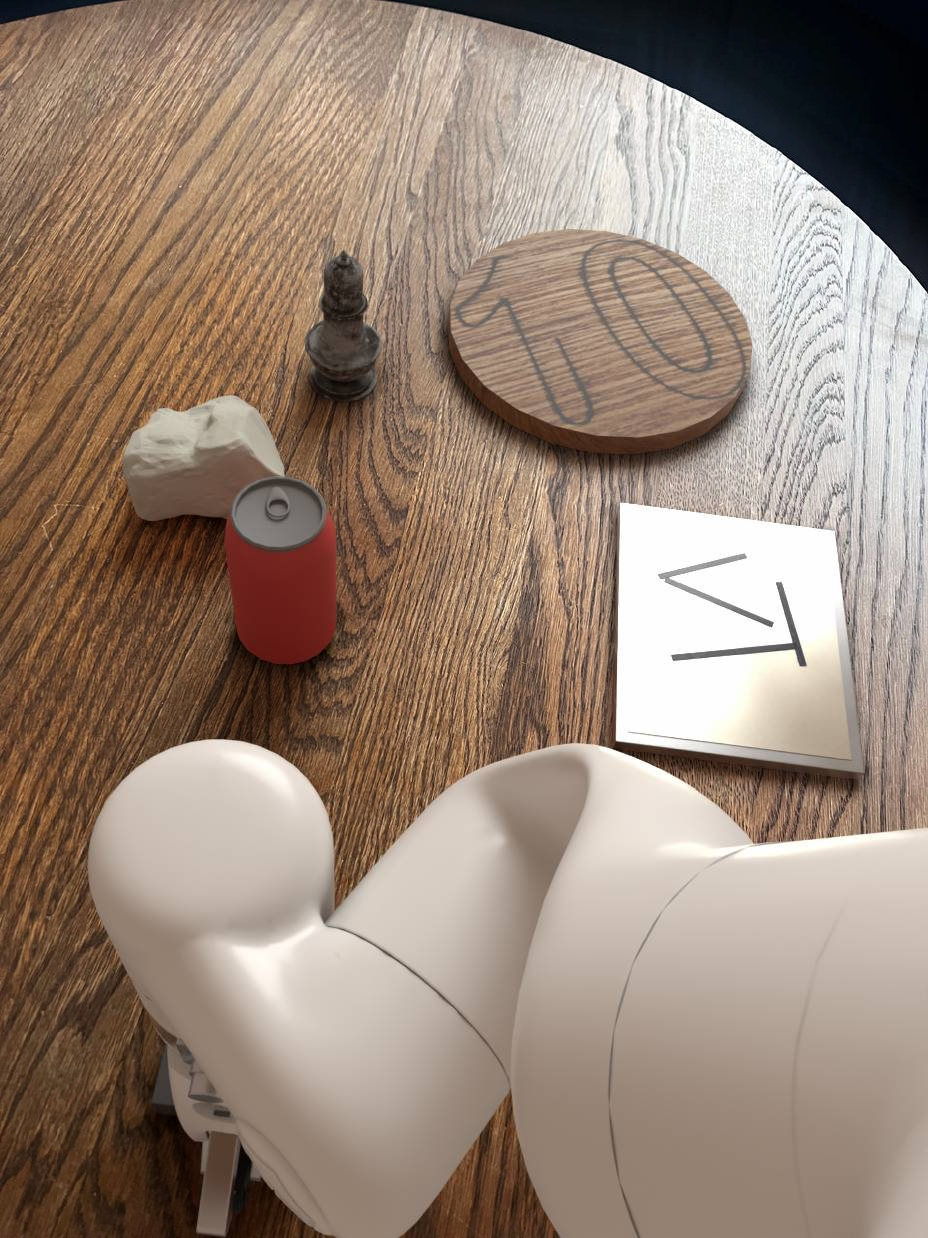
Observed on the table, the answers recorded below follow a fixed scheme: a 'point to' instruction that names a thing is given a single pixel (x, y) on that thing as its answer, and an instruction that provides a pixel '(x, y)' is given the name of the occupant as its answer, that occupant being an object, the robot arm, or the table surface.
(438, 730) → the table surface
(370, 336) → the dark chess piece
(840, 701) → the whiteboard
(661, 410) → the trivet
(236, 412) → the decorative stone
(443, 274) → the table surface
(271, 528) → the beer can
